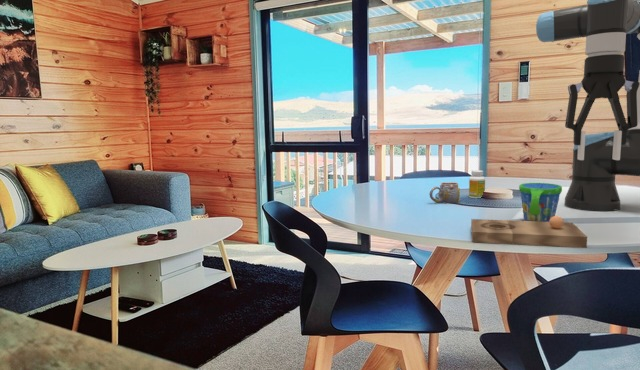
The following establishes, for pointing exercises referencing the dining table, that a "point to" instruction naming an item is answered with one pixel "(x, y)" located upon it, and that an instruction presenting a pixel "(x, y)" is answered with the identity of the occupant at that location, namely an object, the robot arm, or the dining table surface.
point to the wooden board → (527, 233)
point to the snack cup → (539, 200)
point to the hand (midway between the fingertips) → (598, 159)
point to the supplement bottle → (476, 184)
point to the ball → (556, 222)
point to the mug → (447, 193)
